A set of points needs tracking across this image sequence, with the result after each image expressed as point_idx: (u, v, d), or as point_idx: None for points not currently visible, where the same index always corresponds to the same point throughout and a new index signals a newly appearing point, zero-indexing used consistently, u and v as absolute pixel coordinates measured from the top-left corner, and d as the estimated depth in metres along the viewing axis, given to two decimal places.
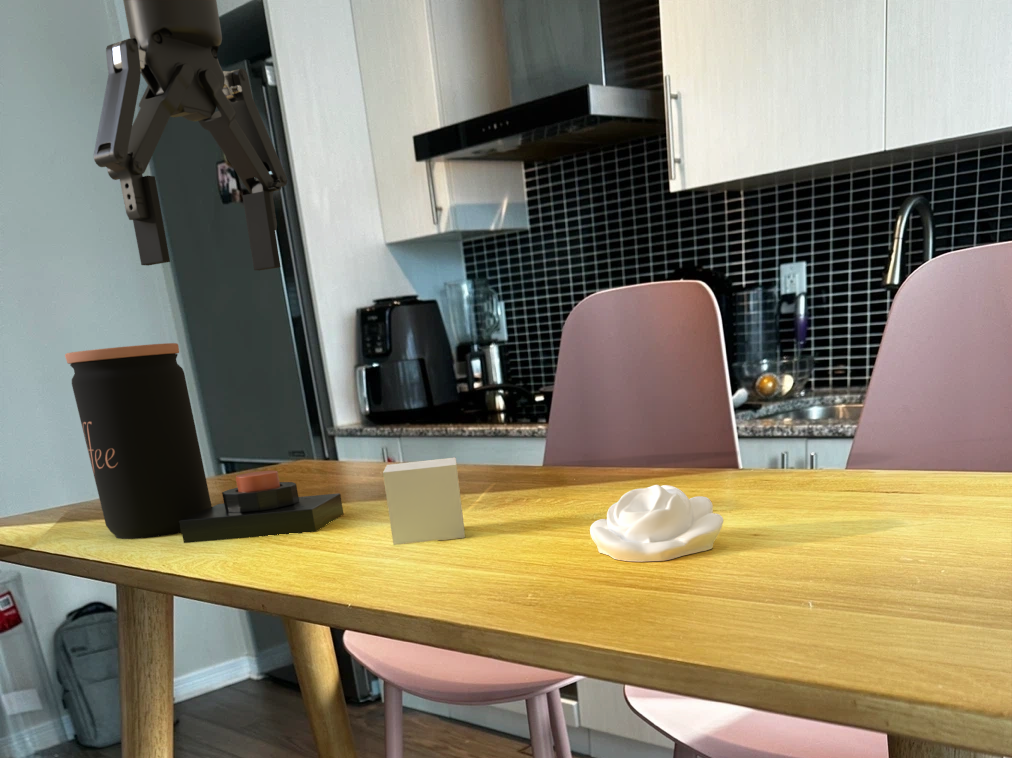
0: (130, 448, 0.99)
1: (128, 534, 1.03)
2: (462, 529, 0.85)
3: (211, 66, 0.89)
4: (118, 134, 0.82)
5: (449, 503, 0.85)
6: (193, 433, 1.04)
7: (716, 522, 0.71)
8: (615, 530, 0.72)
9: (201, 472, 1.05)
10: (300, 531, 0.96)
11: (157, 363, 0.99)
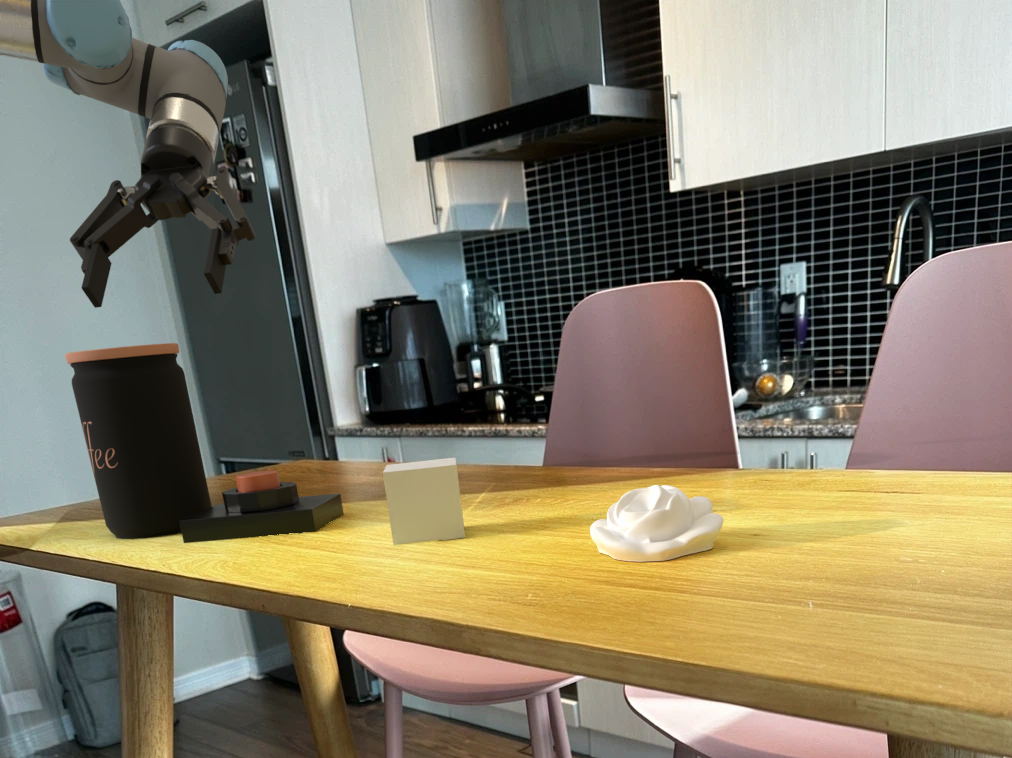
0: (130, 448, 0.99)
1: (128, 534, 1.03)
2: (462, 529, 0.85)
3: None
4: None
5: (449, 503, 0.85)
6: (193, 433, 1.04)
7: (716, 522, 0.71)
8: (615, 530, 0.72)
9: (201, 472, 1.05)
10: (300, 531, 0.96)
11: (157, 363, 0.99)
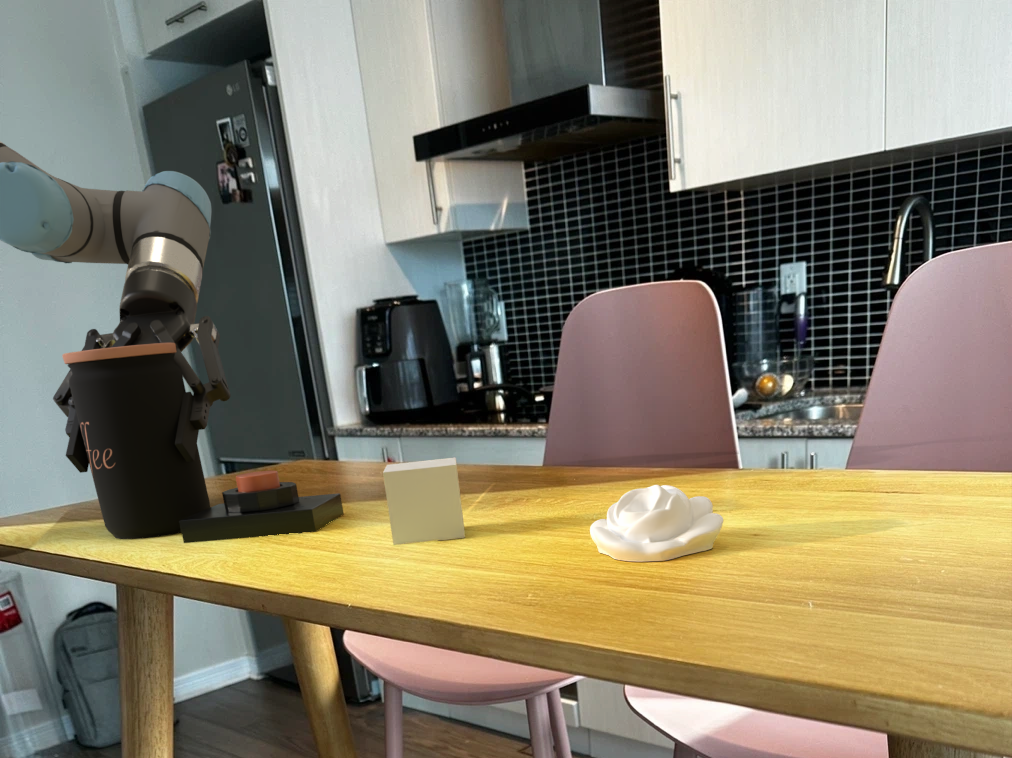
0: (128, 448, 0.99)
1: (126, 534, 1.03)
2: (462, 529, 0.85)
3: None
4: (226, 385, 1.06)
5: (450, 503, 0.85)
6: None
7: (716, 522, 0.71)
8: (615, 530, 0.72)
9: (199, 472, 1.05)
10: (300, 531, 0.96)
11: (154, 363, 0.99)
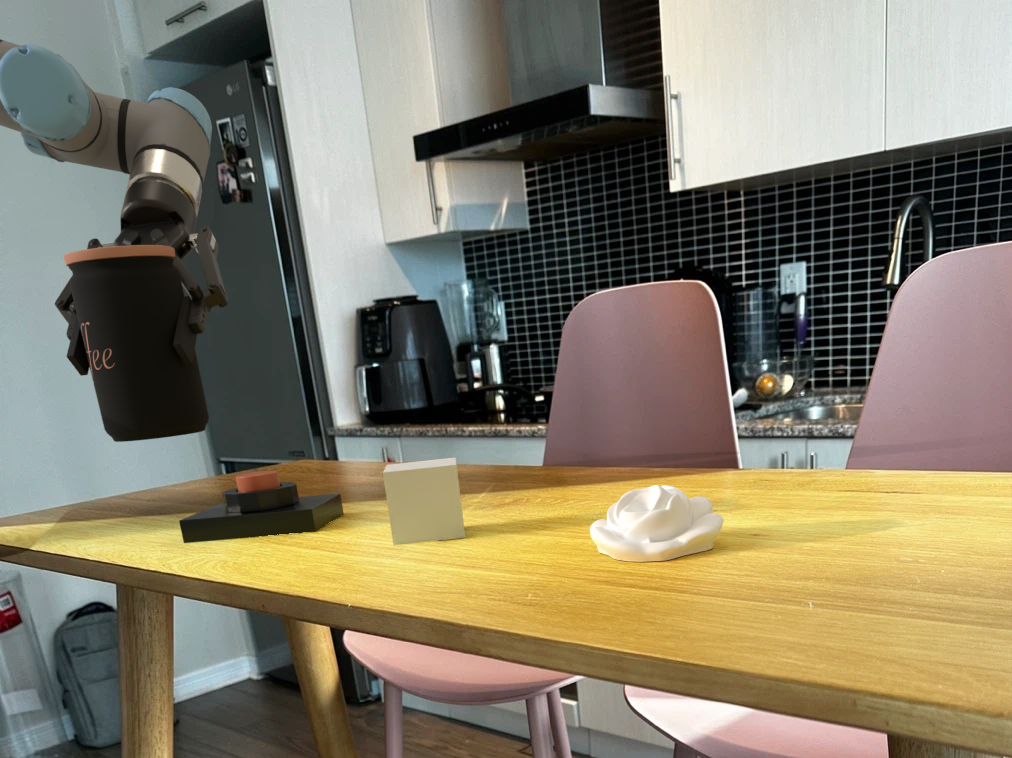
0: (127, 348, 1.02)
1: (125, 435, 1.05)
2: (462, 529, 0.85)
3: None
4: (224, 293, 1.08)
5: (449, 503, 0.85)
6: None
7: (716, 522, 0.71)
8: (615, 530, 0.72)
9: (197, 377, 1.07)
10: (300, 531, 0.96)
11: (153, 264, 1.01)
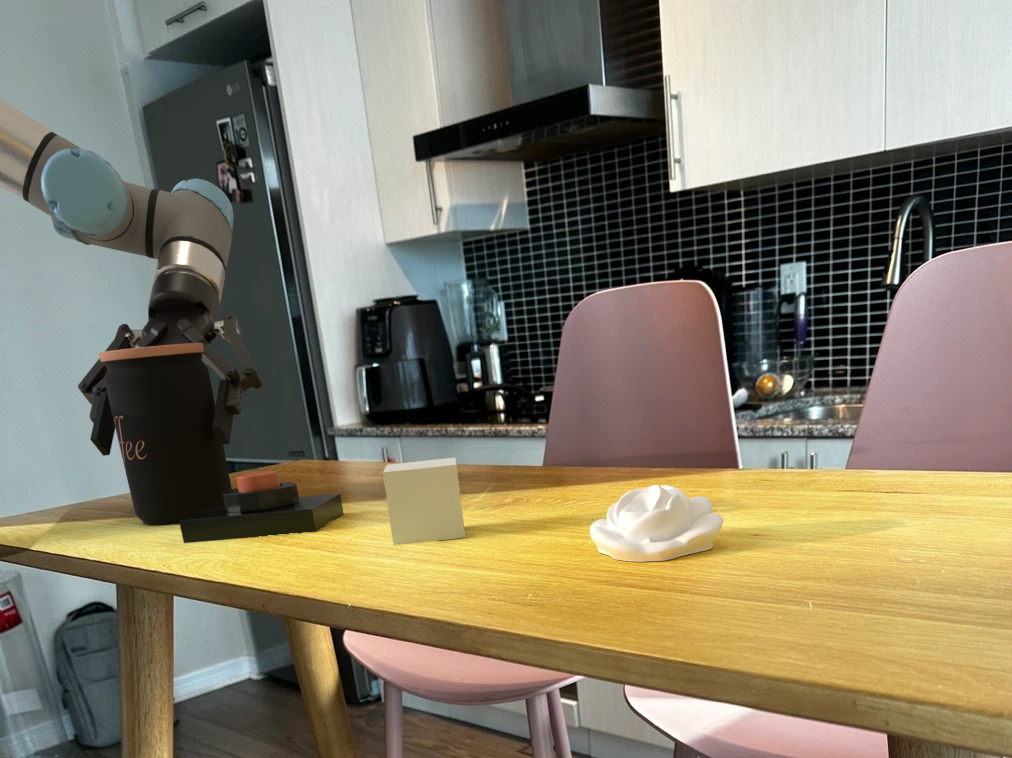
0: (159, 440, 1.07)
1: (156, 520, 1.11)
2: (462, 529, 0.85)
3: None
4: None
5: (449, 503, 0.85)
6: None
7: (716, 522, 0.71)
8: (615, 530, 0.72)
9: (224, 463, 1.13)
10: (300, 531, 0.96)
11: (184, 361, 1.07)
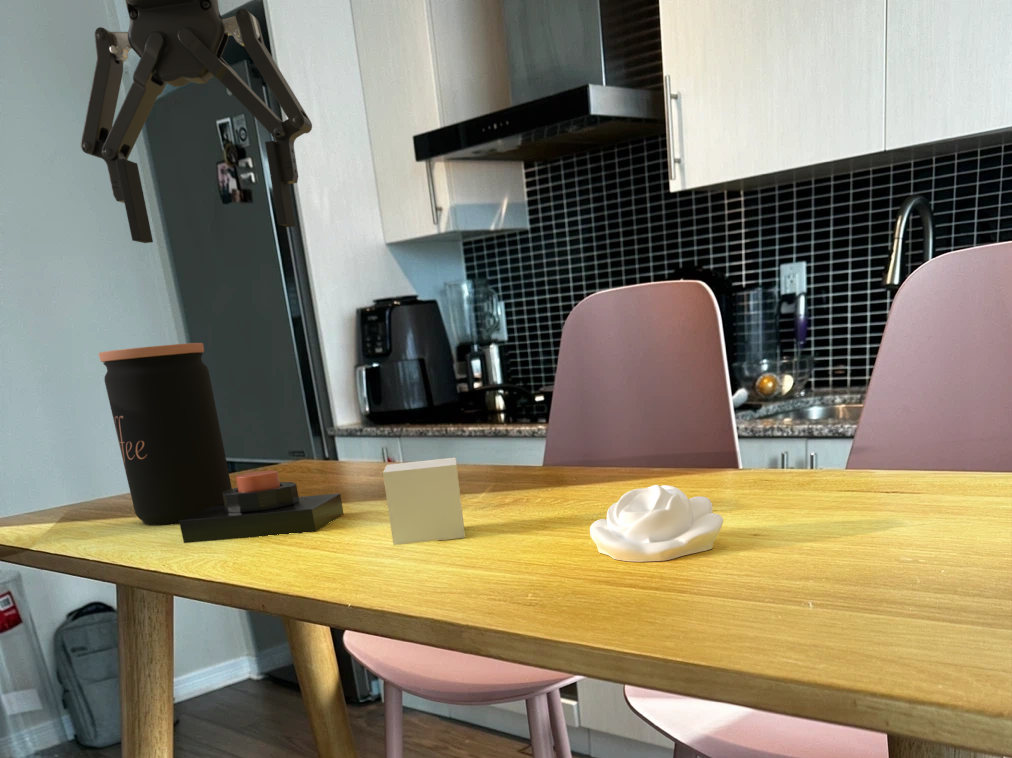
0: (159, 440, 1.07)
1: (156, 520, 1.11)
2: (462, 529, 0.85)
3: None
4: (300, 107, 0.90)
5: (449, 503, 0.85)
6: (216, 427, 1.12)
7: (716, 522, 0.71)
8: (615, 530, 0.72)
9: (224, 463, 1.13)
10: (300, 531, 0.96)
11: (184, 361, 1.07)
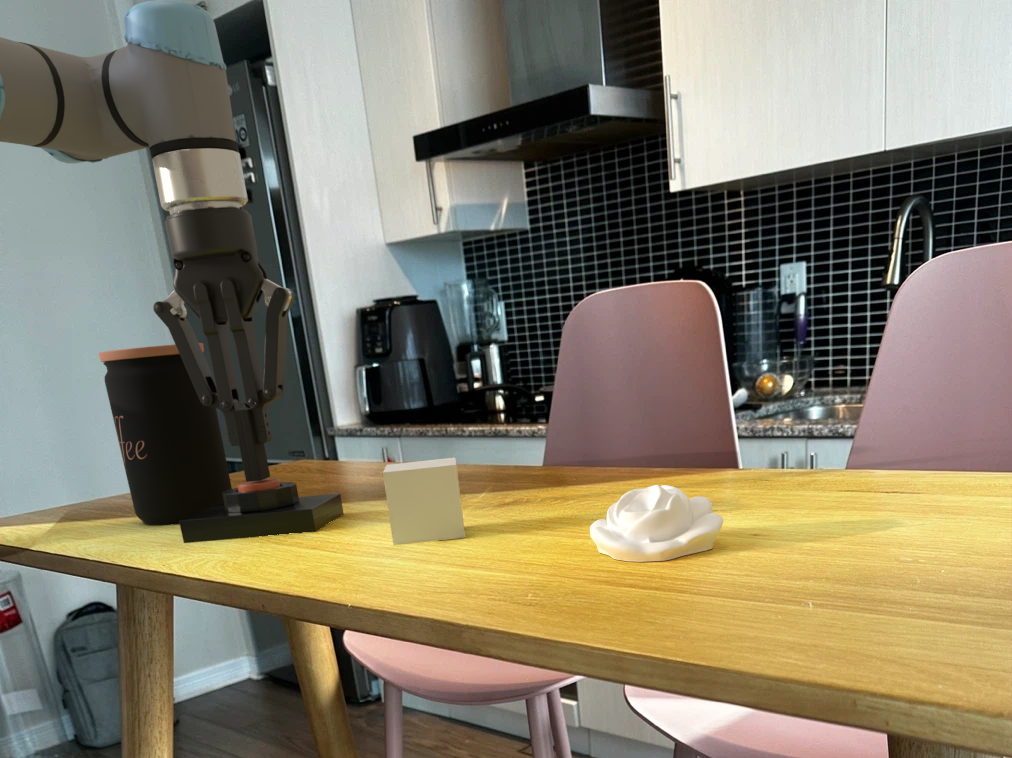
0: (159, 440, 1.07)
1: (156, 520, 1.11)
2: (462, 529, 0.85)
3: None
4: None
5: (449, 503, 0.85)
6: (216, 427, 1.12)
7: (716, 522, 0.71)
8: (615, 530, 0.72)
9: (224, 463, 1.13)
10: (300, 531, 0.96)
11: None
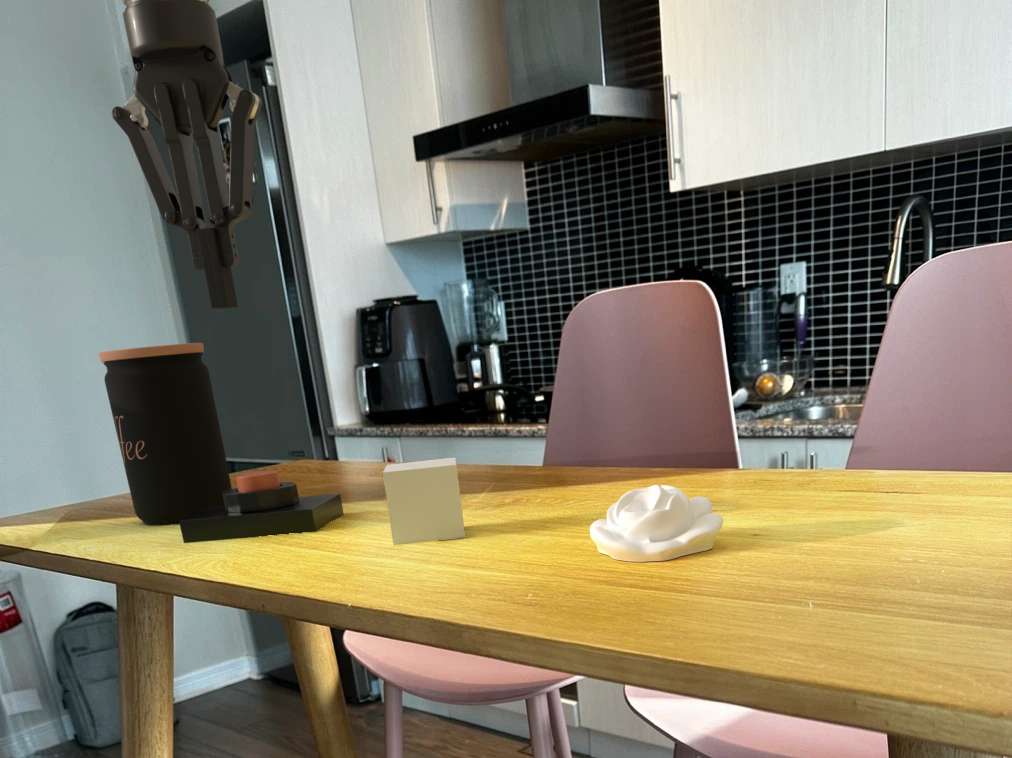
0: (159, 440, 1.07)
1: (156, 520, 1.11)
2: (462, 529, 0.85)
3: None
4: None
5: (449, 503, 0.85)
6: (216, 427, 1.12)
7: (716, 522, 0.71)
8: (615, 530, 0.72)
9: (224, 463, 1.13)
10: (300, 531, 0.96)
11: (184, 361, 1.07)
